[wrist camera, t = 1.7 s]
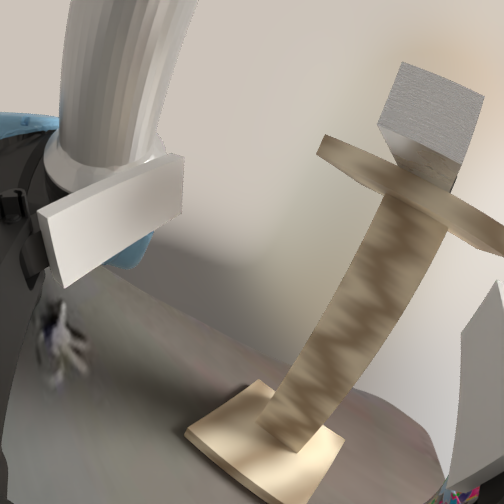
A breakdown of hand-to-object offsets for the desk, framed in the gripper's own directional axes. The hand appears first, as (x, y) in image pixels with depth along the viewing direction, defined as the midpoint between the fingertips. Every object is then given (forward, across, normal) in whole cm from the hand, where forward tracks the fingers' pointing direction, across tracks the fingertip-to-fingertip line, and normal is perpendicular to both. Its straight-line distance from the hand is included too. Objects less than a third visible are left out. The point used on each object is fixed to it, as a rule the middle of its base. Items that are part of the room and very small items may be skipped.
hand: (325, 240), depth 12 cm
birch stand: (+5, +1, -29) cm, 30 cm away
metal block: (+12, +4, 0) cm, 13 cm away
